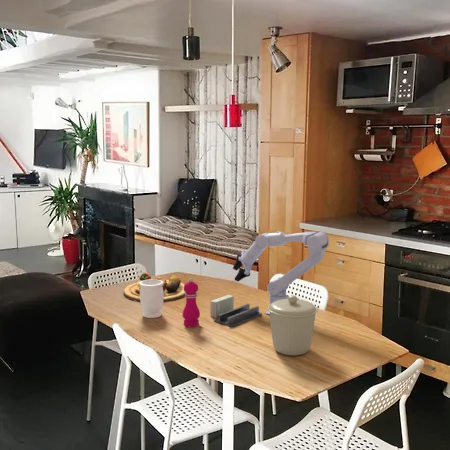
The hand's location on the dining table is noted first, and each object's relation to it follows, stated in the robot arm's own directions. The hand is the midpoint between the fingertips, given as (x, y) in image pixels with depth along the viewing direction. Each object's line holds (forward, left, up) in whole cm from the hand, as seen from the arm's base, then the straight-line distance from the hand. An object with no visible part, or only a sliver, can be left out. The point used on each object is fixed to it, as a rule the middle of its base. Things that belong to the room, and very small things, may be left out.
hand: (235, 274), depth 256 cm
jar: (+19, +34, -15) cm, 42 cm away
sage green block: (-3, +12, -15) cm, 19 cm away
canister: (-49, +26, -15) cm, 58 cm away
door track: (-12, +12, -15) cm, 23 cm away
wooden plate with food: (+43, +10, -15) cm, 47 cm away
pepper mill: (-2, +31, -15) cm, 35 cm away
